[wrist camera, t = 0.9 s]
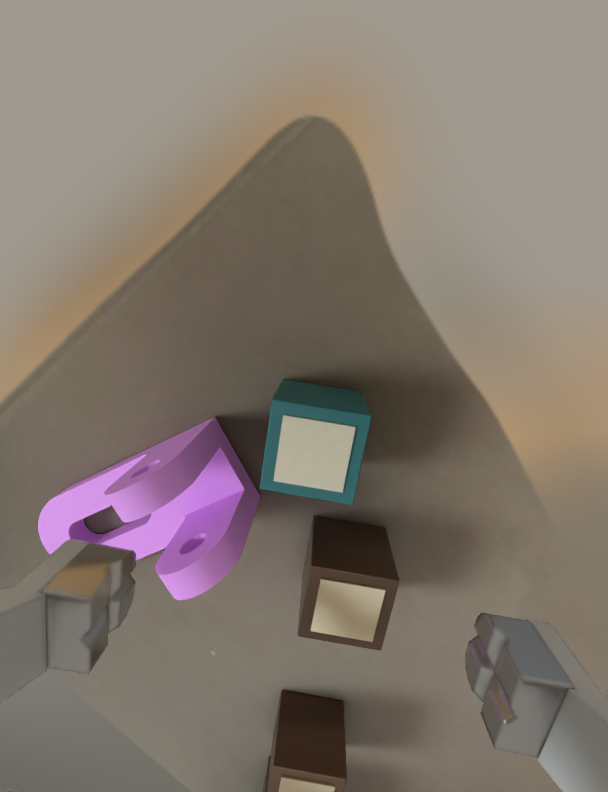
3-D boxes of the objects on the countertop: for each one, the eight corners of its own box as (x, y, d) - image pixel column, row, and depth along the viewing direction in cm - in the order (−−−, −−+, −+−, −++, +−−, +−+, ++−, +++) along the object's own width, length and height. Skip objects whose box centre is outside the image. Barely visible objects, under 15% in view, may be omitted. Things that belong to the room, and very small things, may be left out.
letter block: (283, 378, 20) (271, 399, 16) (362, 391, 20) (372, 416, 16) (272, 452, 21) (258, 490, 17) (347, 464, 21) (353, 506, 17)
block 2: (313, 514, 22) (310, 566, 18) (385, 527, 22) (400, 582, 18) (302, 575, 23) (297, 638, 19) (371, 587, 23) (381, 653, 19)
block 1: (281, 689, 26) (272, 768, 21) (343, 700, 26) (347, 782, 21) (273, 734, 27) (263, 818, 22) (332, 745, 27) (334, 831, 22)
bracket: (215, 416, 21) (162, 470, 14) (260, 497, 22) (231, 582, 15) (37, 501, 23) (-82, 583, 16) (87, 570, 24) (-5, 674, 17)
